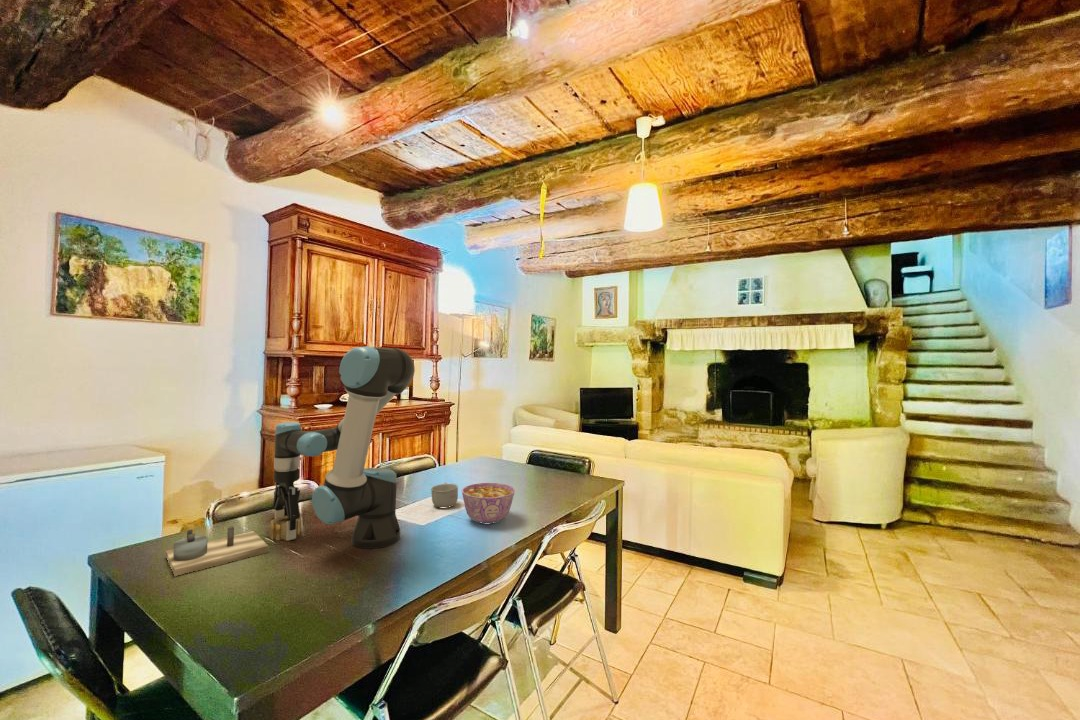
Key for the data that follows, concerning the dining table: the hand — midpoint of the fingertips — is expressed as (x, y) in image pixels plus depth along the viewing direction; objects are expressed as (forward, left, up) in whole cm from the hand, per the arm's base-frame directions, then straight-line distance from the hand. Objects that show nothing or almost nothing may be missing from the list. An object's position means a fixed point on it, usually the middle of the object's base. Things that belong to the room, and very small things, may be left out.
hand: (284, 534), depth 146 cm
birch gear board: (-3, +19, 0) cm, 19 cm away
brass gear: (0, 0, 0) cm, 0 cm away
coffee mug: (+19, -7, 0) cm, 20 cm away
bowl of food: (-36, -58, 0) cm, 68 cm away
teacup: (-10, -57, -1) cm, 58 cm away
